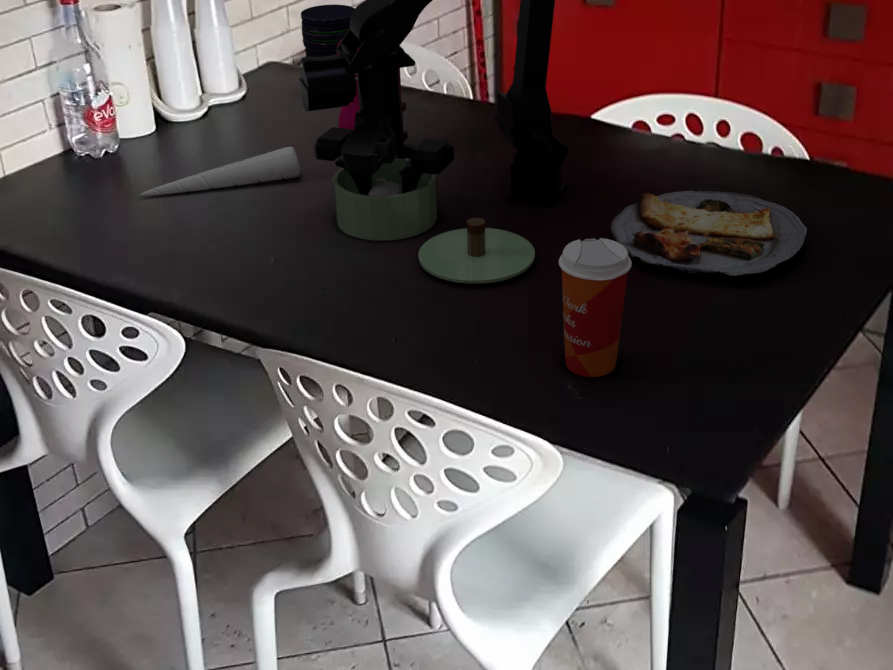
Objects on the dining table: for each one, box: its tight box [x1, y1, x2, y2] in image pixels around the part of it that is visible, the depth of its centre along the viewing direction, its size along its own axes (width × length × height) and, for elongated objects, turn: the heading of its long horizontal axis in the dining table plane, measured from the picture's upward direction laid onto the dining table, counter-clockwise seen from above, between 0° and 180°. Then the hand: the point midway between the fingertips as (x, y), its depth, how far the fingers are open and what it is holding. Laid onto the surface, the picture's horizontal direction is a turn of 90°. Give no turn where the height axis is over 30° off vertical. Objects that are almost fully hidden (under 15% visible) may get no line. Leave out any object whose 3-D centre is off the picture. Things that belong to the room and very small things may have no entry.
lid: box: [417, 217, 536, 285], centre depth 151 cm, size 15×15×6 cm
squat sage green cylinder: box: [332, 158, 439, 242], centre depth 162 cm, size 14×14×6 cm
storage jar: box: [300, 4, 356, 57], centre depth 206 cm, size 10×10×15 cm
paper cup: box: [558, 237, 633, 378], centre depth 126 cm, size 8×8×14 cm
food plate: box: [609, 190, 808, 277], centre depth 154 cm, size 25×23×4 cm
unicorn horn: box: [140, 145, 301, 196], centre depth 175 cm, size 5×24×5 cm, turn 103°
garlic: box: [368, 178, 402, 196], centre depth 162 cm, size 6×5×5 cm
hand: (387, 207), depth 163 cm, fingers closed on garlic, 5 cm apart
